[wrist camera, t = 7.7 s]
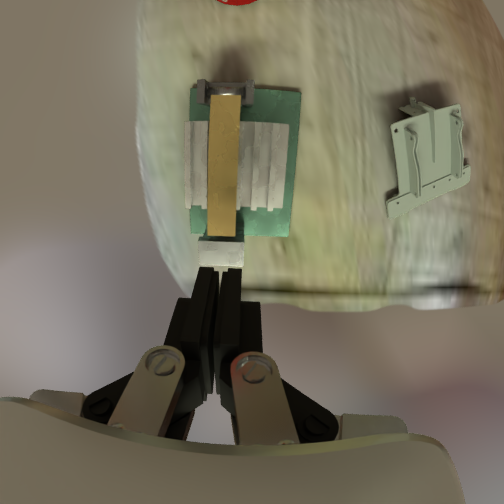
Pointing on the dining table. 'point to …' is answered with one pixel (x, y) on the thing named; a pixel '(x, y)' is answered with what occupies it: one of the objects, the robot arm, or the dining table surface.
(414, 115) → the metal bracket
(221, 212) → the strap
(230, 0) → the soda can
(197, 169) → the heatsink
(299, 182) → the dining table surface
